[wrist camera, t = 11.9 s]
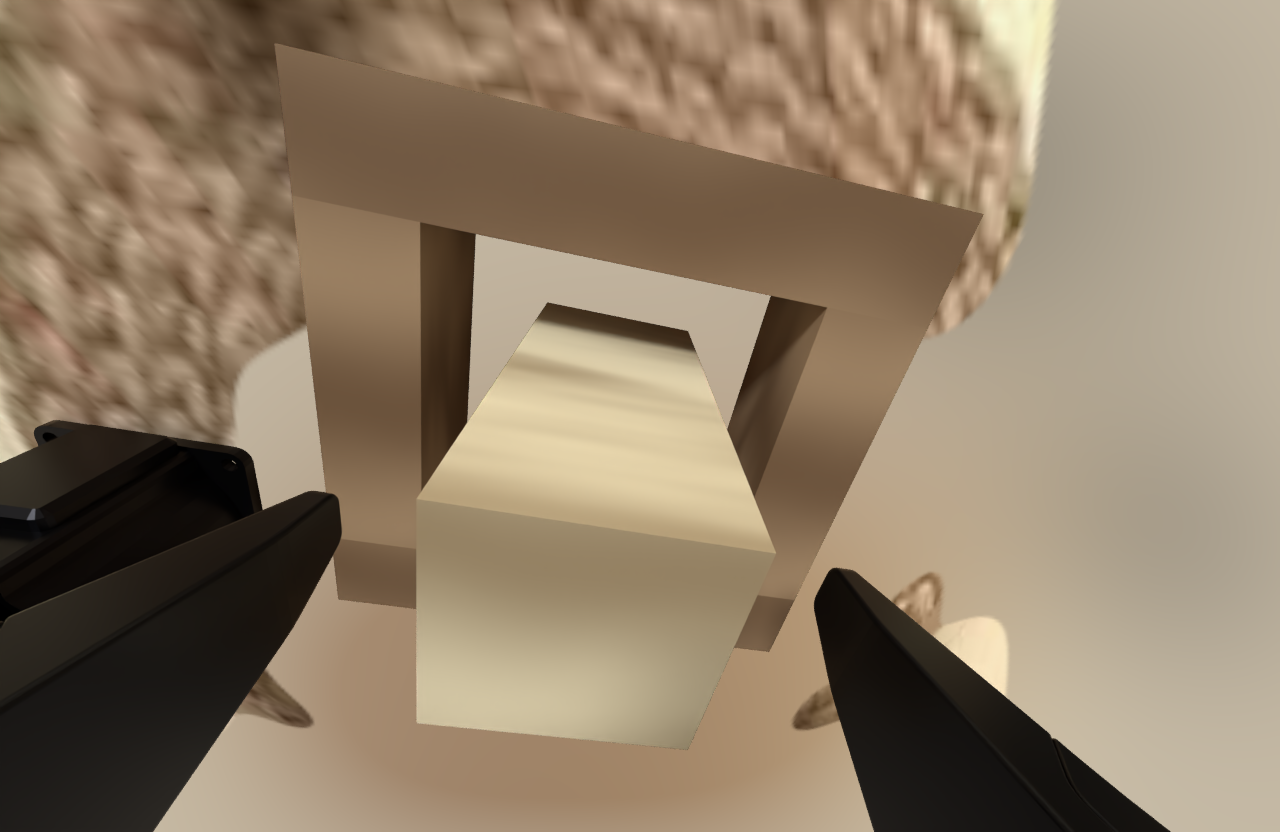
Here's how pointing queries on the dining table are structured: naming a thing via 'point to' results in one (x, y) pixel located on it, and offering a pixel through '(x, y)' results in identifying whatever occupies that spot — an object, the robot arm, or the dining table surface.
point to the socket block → (596, 228)
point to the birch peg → (586, 542)
